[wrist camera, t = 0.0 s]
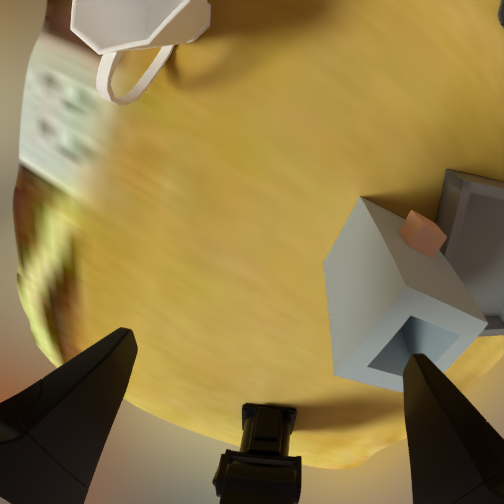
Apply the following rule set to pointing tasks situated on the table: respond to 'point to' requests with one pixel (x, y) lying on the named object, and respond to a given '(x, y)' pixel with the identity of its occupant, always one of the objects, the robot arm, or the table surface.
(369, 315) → the sleeve
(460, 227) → the tray
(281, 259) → the table surface
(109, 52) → the cup
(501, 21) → the phone
